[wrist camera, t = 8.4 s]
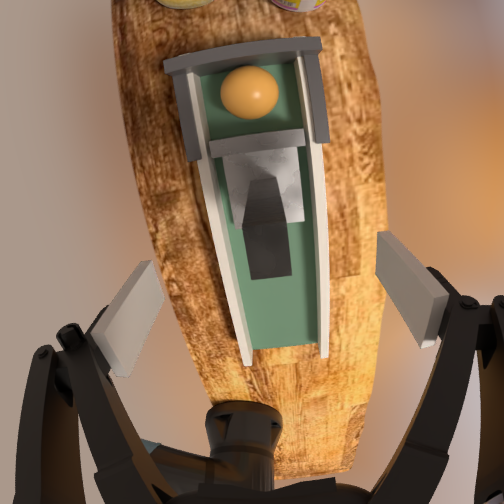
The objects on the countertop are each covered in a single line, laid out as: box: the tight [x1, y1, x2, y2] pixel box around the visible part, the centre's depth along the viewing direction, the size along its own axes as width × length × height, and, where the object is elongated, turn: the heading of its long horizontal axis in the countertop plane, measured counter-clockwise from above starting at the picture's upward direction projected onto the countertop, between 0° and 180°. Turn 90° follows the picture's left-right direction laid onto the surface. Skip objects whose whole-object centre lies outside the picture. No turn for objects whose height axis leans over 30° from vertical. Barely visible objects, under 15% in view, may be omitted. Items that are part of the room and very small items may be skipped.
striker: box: [209, 127, 306, 280], centre depth 22 cm, size 9×8×13 cm
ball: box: [220, 66, 279, 120], centre depth 22 cm, size 5×5×5 cm
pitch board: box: [179, 36, 330, 366], centre depth 29 cm, size 36×11×4 cm, turn 9°
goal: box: [163, 37, 330, 162], centre depth 22 cm, size 9×12×7 cm
